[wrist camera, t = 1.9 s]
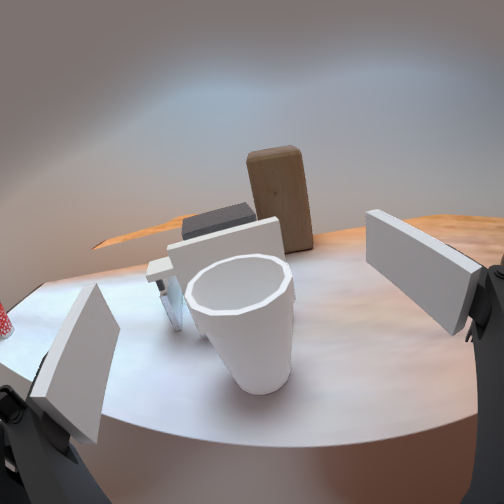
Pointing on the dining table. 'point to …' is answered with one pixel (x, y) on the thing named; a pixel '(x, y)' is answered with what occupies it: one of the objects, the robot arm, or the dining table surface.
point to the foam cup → (247, 317)
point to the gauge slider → (216, 252)
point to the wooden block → (282, 193)
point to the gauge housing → (197, 228)
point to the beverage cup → (5, 324)
